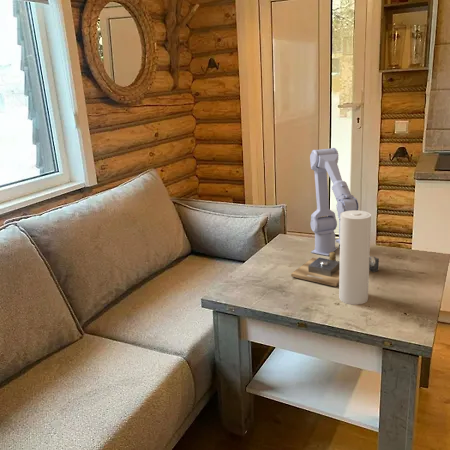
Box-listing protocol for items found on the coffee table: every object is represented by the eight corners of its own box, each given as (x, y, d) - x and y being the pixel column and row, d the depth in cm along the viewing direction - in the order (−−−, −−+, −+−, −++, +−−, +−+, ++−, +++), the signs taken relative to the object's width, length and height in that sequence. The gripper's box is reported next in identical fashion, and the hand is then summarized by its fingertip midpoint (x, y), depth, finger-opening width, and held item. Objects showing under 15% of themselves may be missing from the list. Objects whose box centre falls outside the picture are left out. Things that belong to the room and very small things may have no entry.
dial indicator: (372, 268, 176) (373, 253, 174) (379, 271, 172) (380, 256, 170) (365, 269, 175) (366, 255, 173) (372, 273, 171) (373, 258, 169)
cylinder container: (369, 305, 148) (372, 217, 139) (339, 303, 150) (341, 217, 141) (366, 292, 157) (369, 208, 148) (338, 291, 159) (339, 208, 150)
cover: (319, 263, 179) (319, 256, 178) (340, 268, 173) (340, 260, 172) (308, 271, 172) (308, 264, 171) (330, 276, 167) (330, 268, 166)
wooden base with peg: (313, 260, 185) (313, 248, 184) (355, 268, 175) (356, 256, 173) (291, 276, 172) (291, 263, 170) (336, 286, 161) (336, 273, 160)
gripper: (337, 223, 179) (336, 255, 183) (334, 235, 166) (334, 269, 170) (355, 223, 177) (354, 256, 181) (354, 236, 164) (353, 270, 168)
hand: (346, 262), depth 175 cm, fingers closed
